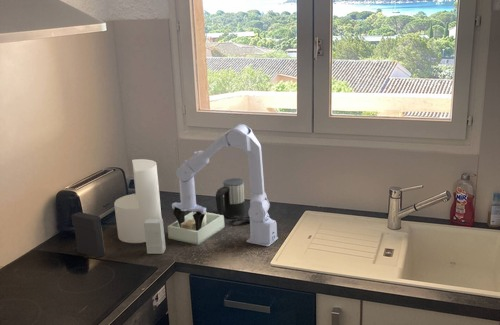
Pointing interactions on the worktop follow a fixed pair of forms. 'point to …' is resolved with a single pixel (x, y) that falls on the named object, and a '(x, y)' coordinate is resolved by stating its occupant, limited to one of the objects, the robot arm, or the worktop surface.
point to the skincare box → (154, 236)
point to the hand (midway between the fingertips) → (190, 228)
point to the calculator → (88, 234)
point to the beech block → (189, 225)
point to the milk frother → (232, 199)
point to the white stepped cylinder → (139, 203)
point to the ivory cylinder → (202, 221)
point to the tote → (197, 237)
